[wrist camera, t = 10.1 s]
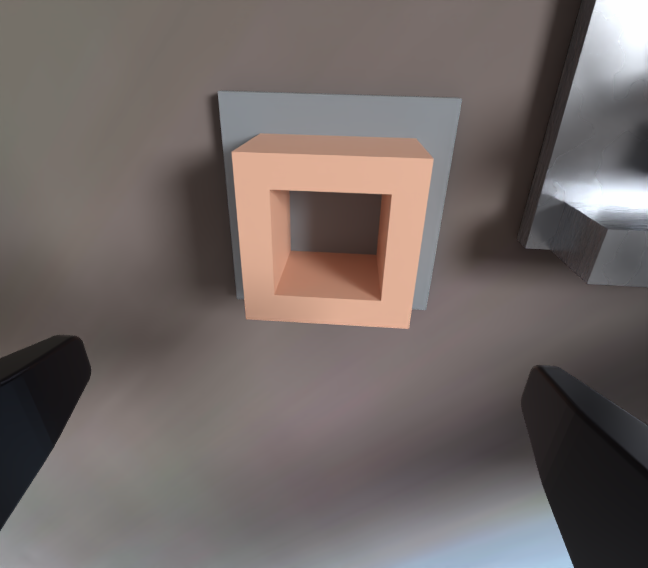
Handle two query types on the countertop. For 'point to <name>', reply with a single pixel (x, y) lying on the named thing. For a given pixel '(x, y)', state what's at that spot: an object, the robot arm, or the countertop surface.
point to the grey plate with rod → (597, 151)
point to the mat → (336, 207)
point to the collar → (323, 267)
